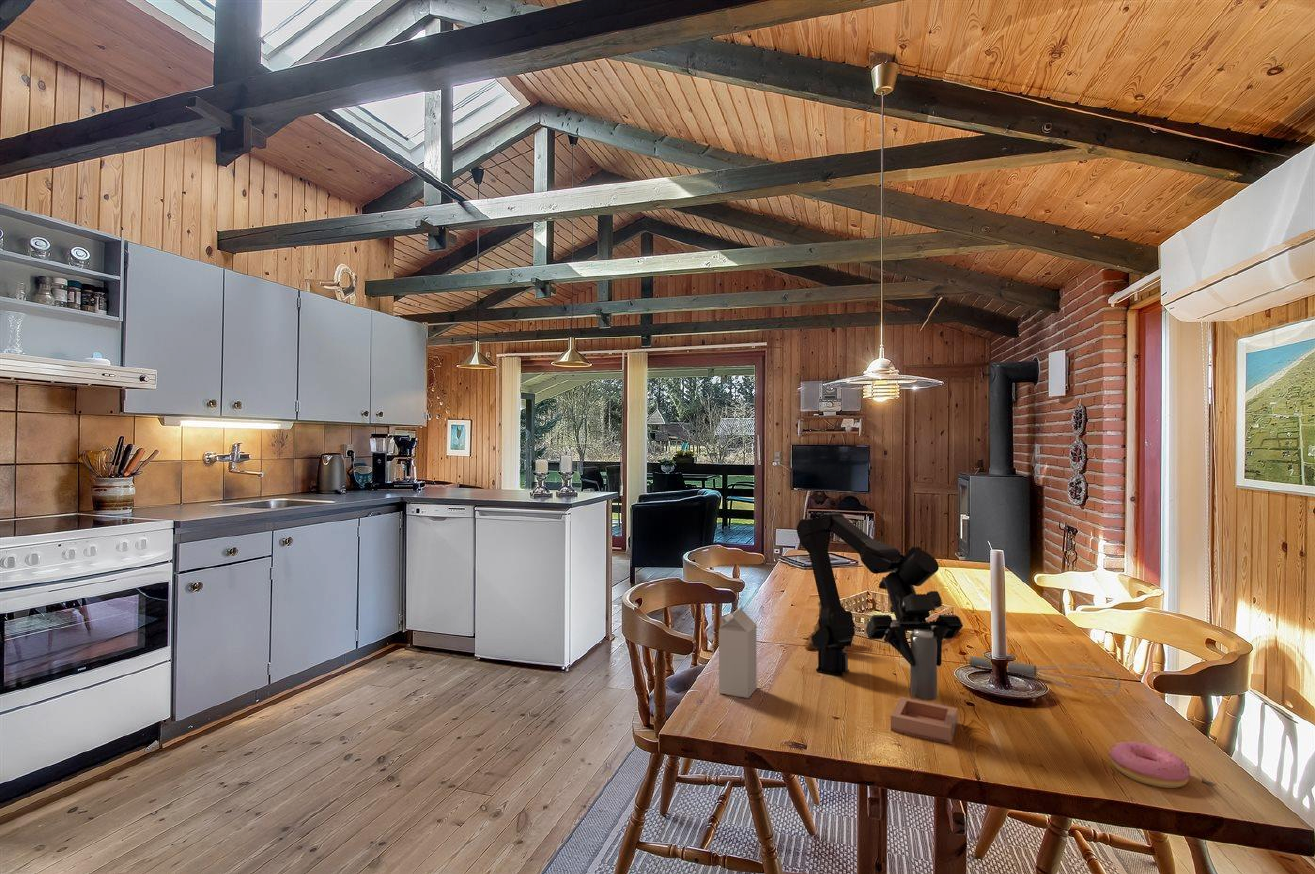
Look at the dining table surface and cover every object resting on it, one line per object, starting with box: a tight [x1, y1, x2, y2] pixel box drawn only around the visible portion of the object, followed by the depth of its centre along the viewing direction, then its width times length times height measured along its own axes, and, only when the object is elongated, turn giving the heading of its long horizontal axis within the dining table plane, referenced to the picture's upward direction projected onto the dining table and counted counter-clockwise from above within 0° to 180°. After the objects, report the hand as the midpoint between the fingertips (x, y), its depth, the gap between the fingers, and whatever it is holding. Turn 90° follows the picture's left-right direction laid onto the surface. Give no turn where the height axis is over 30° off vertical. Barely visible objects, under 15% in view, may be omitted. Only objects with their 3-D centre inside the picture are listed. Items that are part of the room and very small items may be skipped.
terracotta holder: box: [890, 696, 958, 745], centre depth 124 cm, size 11×11×3 cm
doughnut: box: [1108, 740, 1191, 789], centre depth 106 cm, size 11×11×4 cm
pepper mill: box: [909, 629, 938, 702], centre depth 124 cm, size 5×5×13 cm
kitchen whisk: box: [961, 655, 1122, 697], centre depth 150 cm, size 6×34×6 cm, turn 48°
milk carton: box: [718, 605, 758, 699], centre depth 143 cm, size 7×7×19 cm
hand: (926, 665), depth 123 cm, fingers closed on pepper mill, 5 cm apart
